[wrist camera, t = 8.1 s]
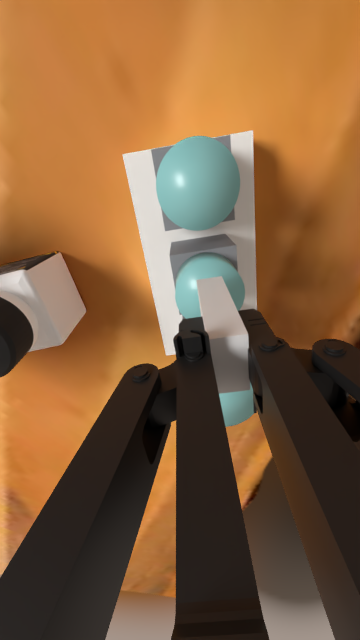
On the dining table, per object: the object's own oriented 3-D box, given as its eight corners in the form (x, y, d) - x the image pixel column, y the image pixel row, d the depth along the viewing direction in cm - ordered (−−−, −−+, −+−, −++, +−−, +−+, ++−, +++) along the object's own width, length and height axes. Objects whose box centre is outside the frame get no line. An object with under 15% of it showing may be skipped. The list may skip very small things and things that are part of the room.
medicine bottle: (60, 249, 26) (-19, 292, 16) (88, 311, 30) (37, 382, 19) (-3, 265, 27) (-120, 317, 17) (30, 324, 30) (-50, 399, 20)
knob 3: (190, 365, 25) (194, 430, 19) (183, 323, 23) (185, 380, 17) (238, 359, 25) (259, 422, 18) (235, 316, 23) (258, 371, 16)
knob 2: (180, 291, 25) (180, 330, 18) (172, 243, 23) (169, 267, 16) (228, 284, 25) (246, 321, 18) (224, 235, 23) (243, 256, 16)
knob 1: (168, 220, 22) (164, 236, 16) (158, 158, 20) (148, 144, 13) (222, 212, 22) (242, 223, 15) (217, 147, 20) (237, 128, 13)
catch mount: (167, 341, 31) (163, 386, 24) (129, 157, 23) (106, 145, 16) (250, 329, 31) (272, 373, 24) (243, 136, 22) (274, 113, 15)
